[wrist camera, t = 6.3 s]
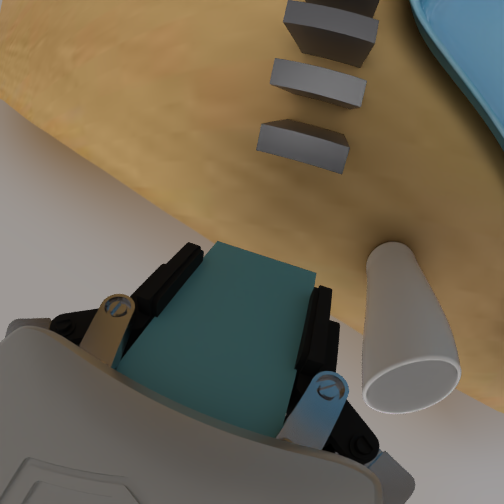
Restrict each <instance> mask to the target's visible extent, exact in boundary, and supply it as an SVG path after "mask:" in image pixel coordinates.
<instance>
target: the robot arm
mask: <svg viewBox="0 0 504 504" xmlns="http://www.w3.org/2000/svg"><path fill="white" fill-rule="evenodd" d="M203 254H204V252H203V251H202V250H201V247H200V246H198V245H195V244H193V243H190V242H188V243H187V244H186V245H185V246H184V247H183V248H182V249H181V250H180V251H179V252H178V253H177V254H176V255H175V256H174V257H173V258H172V259H171V260H170V261H169V262H168V263H167V264H162V265H161V266H160V267H159V268H158V269H157V270H156V271H155V272H154V273H153V274H152V275H151V276H150V277H149V278H148V279H147V280H146V281H145V282H144V283H143V284H142V285H141V286H140V287H139V288H138V289H137V290H136V291H135V292H134V293H133V294H132V295H131V296H130V297H129V296H127V295H124V294H114V295H111V296H109V297H107V298H106V299H105V300H104V301H103V302H102V304H101V305H100V307H99V309H93V310H86V311H79V312H72V313H65V314H61V315H59V316H57V317H55V318H54V319H53V320H52V321H51V319H50V318H36V319H16V320H14V321H12V322H11V323H10V324H9V326H8V328H7V332H6V336H5V339H4V340H2V341H1V342H0V504H405V502H406V501H407V500H408V499H409V497H410V496H411V495H412V493H413V491H414V489H415V481H414V478H413V477H412V476H411V475H410V474H409V473H408V472H407V471H406V470H405V469H404V468H402V466H400V465H399V463H397V462H396V461H395V460H394V459H393V458H392V457H391V456H390V455H389V454H388V453H387V452H386V451H384V452H382V451H381V450H380V449H379V442H378V439H377V437H376V436H375V435H374V433H373V432H372V431H371V430H370V428H369V427H368V426H367V424H366V423H365V422H364V421H363V419H362V418H361V417H360V416H359V414H358V413H357V412H356V411H355V409H354V408H353V407H352V406H351V404H350V403H349V402H348V401H347V397H348V393H349V389H348V384H347V382H346V380H345V379H344V378H343V377H342V376H340V375H339V374H338V373H336V365H337V355H338V344H339V331H340V324H339V323H337V322H334V321H331V320H329V318H330V309H331V299H332V289H330V288H327V287H324V286H321V285H320V286H319V288H316V287H314V289H313V291H312V293H311V296H310V299H309V304H308V309H307V314H306V319H305V324H304V328H303V333H302V337H301V342H300V346H299V351H298V355H297V359H296V363H295V367H294V369H296V370H297V372H296V376H295V380H294V384H293V388H292V392H291V396H290V400H289V404H288V408H287V411H286V415H285V419H284V422H283V426H282V427H281V429H280V430H279V432H278V433H277V435H276V436H275V438H273V437H269V436H266V435H262V434H259V433H256V432H252V431H249V430H246V429H243V428H240V427H237V426H234V425H231V424H229V423H226V422H223V421H221V420H218V419H215V418H213V417H210V416H208V415H205V414H203V413H200V412H198V411H195V410H193V409H191V408H188V407H186V406H184V405H182V404H179V403H177V402H175V401H173V400H171V399H169V398H167V397H165V396H162V395H160V394H158V393H156V392H154V391H152V390H151V389H149V388H147V387H145V386H143V385H141V384H139V383H137V382H135V381H134V380H132V379H130V378H128V377H127V376H125V375H123V374H121V373H120V372H118V371H116V369H117V368H118V365H119V362H120V361H121V359H122V358H123V357H124V355H125V354H126V353H127V352H128V350H129V349H130V348H131V346H132V345H133V344H134V343H135V341H136V340H137V339H138V337H139V336H140V335H141V334H142V332H143V331H144V330H145V328H146V327H147V326H148V325H149V323H150V322H151V321H152V320H153V318H154V317H158V316H159V315H160V314H161V312H162V311H163V310H164V309H165V307H166V306H167V305H168V304H169V302H170V301H171V300H172V298H173V297H174V296H175V295H176V294H177V292H178V291H179V290H180V289H181V287H182V286H183V285H184V284H185V282H186V281H187V280H188V279H189V277H190V276H191V275H192V274H193V273H194V271H195V270H196V269H197V268H198V267H199V265H200V264H201V263H202V262H203Z"/></svg>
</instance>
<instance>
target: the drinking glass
mask: <svg viewBox="0 0 504 504" xmlns="http://www.w3.org/2000/svg"><path fill="white" fill-rule="evenodd" d="M366 274H367V293H366V311H365V323H364V335H363V347H362V397H363V400H364V402H365V404H366V405H367V406H369V407H370V408H371V409H373V410H375V411H378V412H382V413H388V414H405V413H410V412H415V411H419V410H422V409H425V408H428V407H430V406H432V405H434V404H436V403H438V402H440V401H441V400H443V399H444V398H445V397H447V396H448V395H449V394H450V393H451V392H452V391H453V390H454V389H455V387H456V386H457V385H458V383H459V381H460V378H461V367H460V361H459V356H458V351H457V347H456V343H455V340H454V336H453V333H452V330H451V328H450V325H449V322H448V320H447V318H446V315H445V313H444V311H443V309H442V307H441V305H440V303H439V301H438V299H437V297H436V295H435V293H434V292H433V290H432V288H431V286H430V284H429V282H428V280H427V279H426V277H425V275H424V273H423V271H422V270H421V268H420V266H419V264H418V262H417V260H416V258H415V255H414V253H413V252H412V250H411V249H410V248H409V247H408V246H406V245H405V244H402V243H399V242H387V243H383V244H381V245H379V246H378V247H376V248H375V249H374V250H373V251H372V252H371V254H370V255H369V257H368V260H367V263H366Z"/></svg>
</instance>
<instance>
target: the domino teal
mask: <svg viewBox="0 0 504 504" xmlns="http://www.w3.org/2000/svg"><path fill="white" fill-rule="evenodd" d="M315 278H316V273H315V272H312V271H308V270H305V269H302V268H299V267H296V266H293V265H290V264H287V263H284V262H281V261H278V260H274V259H271V258H268V257H265V256H262V255H259V254H256V253H253V252H250V251H247V250H244V249H240V248H237V247H234V246H231V245H228V244H225V243H222V242H219V241H217V242H216V243H215V245H214V246H213V247H212V248H211V249H210V251H209V252H208V253H207V254H206V255H205V256H204V258H203V262H202V263H201V264H200V265H199V267H198V268H197V269H196V270H195V271H194V273H193V274H192V275H191V276H190V277H189V279H188V280H187V281H186V282H185V284H184V285H183V286H182V287H181V289H180V290H179V291H178V292H177V294H176V295H175V296H174V297H173V298H172V300H171V301H170V302H169V304H168V305H167V306H166V307H165V309H164V310H163V311H162V312H161V314H160V315H159V316H158V317H154V318H153V320H152V321H151V322H150V323H149V325H148V326H147V327H146V328H145V330H144V331H143V332H142V334H141V335H140V336H139V337H138V339H137V340H136V341H135V343H134V344H133V345H132V346H131V348H130V349H129V350H128V352H127V353H126V354H125V355H124V357H123V358H122V359H121V361H120V362H119V365H118V368H117V369H116V371H118V372H120V373H121V374H123V375H125V376H127V377H128V378H130V379H132V380H134V381H135V382H137V383H139V384H141V385H143V386H145V387H147V388H149V389H151V390H152V391H154V392H156V393H158V394H160V395H162V396H165V397H167V398H169V399H171V400H173V401H175V402H177V403H179V404H182V405H184V406H186V407H188V408H191V409H193V410H195V411H198V412H200V413H203V414H205V415H208V416H210V417H213V418H215V419H218V420H221V421H223V422H226V423H229V424H231V425H234V426H237V427H240V428H243V429H246V430H249V431H252V432H256V433H259V434H262V435H266V436H269V437H273V438H275V436H276V435H277V433H278V432H279V430H280V429H281V427H282V426H283V422H284V419H285V415H286V411H287V408H288V404H289V400H290V396H291V392H292V388H293V384H294V380H295V376H296V372H297V370H296V369H294V367H295V363H296V359H297V355H298V351H299V346H300V342H301V337H302V333H303V328H304V324H305V319H306V314H307V309H308V304H309V299H310V296H311V293H312V291H313V289H314V284H315Z"/></svg>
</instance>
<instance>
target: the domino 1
mask: <svg viewBox="0 0 504 504" xmlns="http://www.w3.org/2000/svg"><path fill="white" fill-rule="evenodd" d="M305 1H306V3H311V4H317V5H322V6H327V7H332V8H336V9H340V10H344V11H348V12H352V13H356V14H359V15H363V16H366V17H369V18H373V16H374V13H375V11H376V8H377V5H378V3H379V0H305Z"/></svg>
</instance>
